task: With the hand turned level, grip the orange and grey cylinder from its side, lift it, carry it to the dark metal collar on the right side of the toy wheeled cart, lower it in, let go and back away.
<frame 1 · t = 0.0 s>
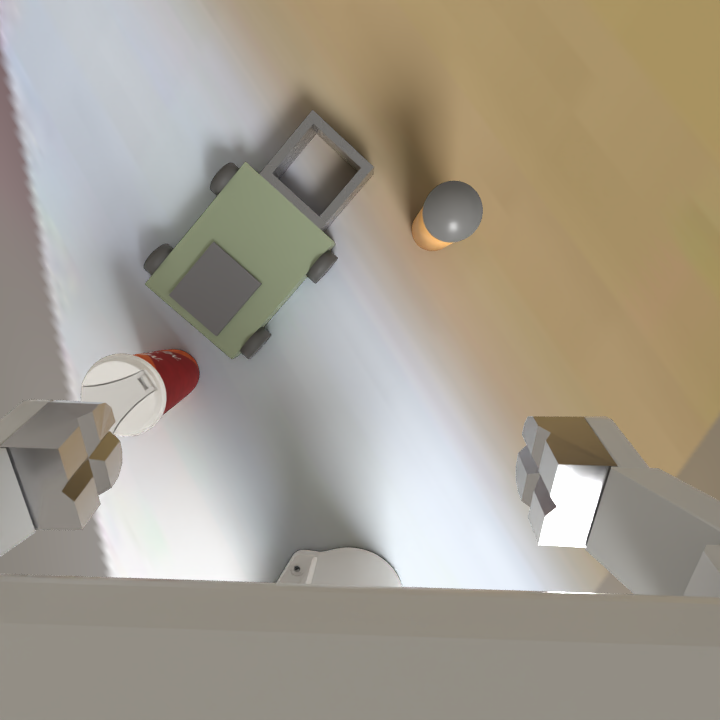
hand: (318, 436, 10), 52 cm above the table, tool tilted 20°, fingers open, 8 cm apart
orange and grey cylinder: (432, 229, 60), on the table
toy wheeled cart: (245, 264, 61), on the table
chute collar: (319, 177, 59), on the table
coffee cup: (175, 372, 63), on the table
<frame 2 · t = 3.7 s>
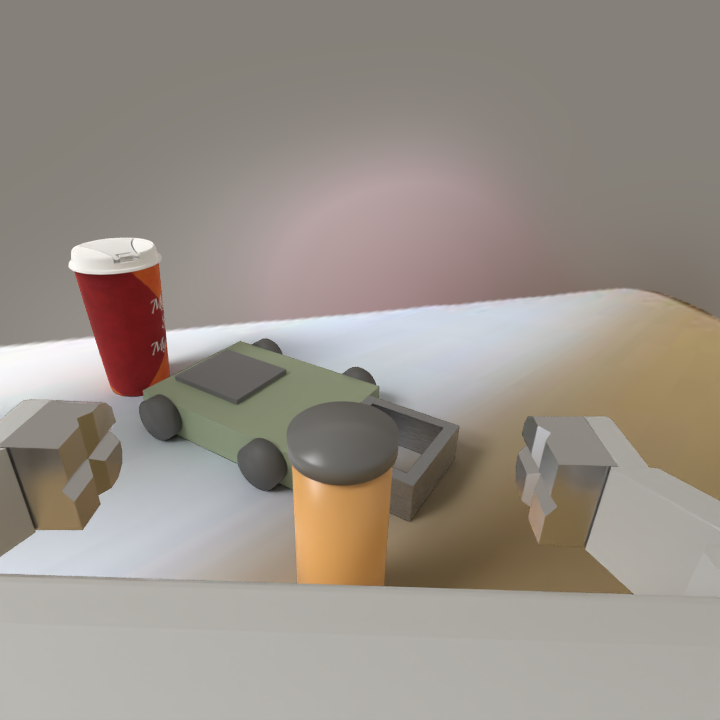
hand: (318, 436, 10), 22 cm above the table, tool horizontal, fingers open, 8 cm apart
orange and grey cylinder: (340, 619, 31), on the table
toy wheeled cart: (265, 419, 50), on the table
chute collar: (386, 468, 44), on the table
coffee cup: (141, 383, 55), on the table
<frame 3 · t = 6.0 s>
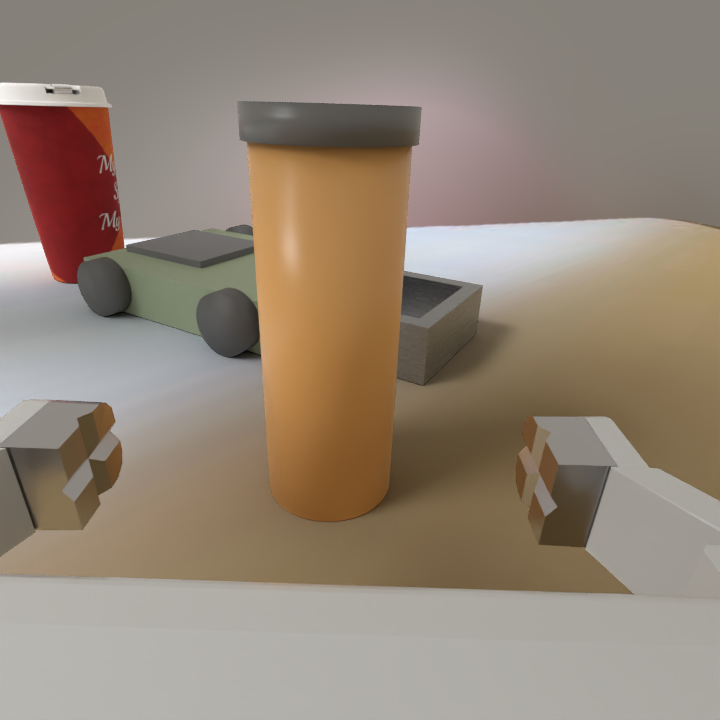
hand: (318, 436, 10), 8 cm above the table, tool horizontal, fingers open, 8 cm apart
orange and grey cylinder: (330, 478, 21), on the table
toy wheeled cart: (239, 301, 40), on the table
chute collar: (389, 340, 34), on the table
coffee cup: (91, 275, 46), on the table
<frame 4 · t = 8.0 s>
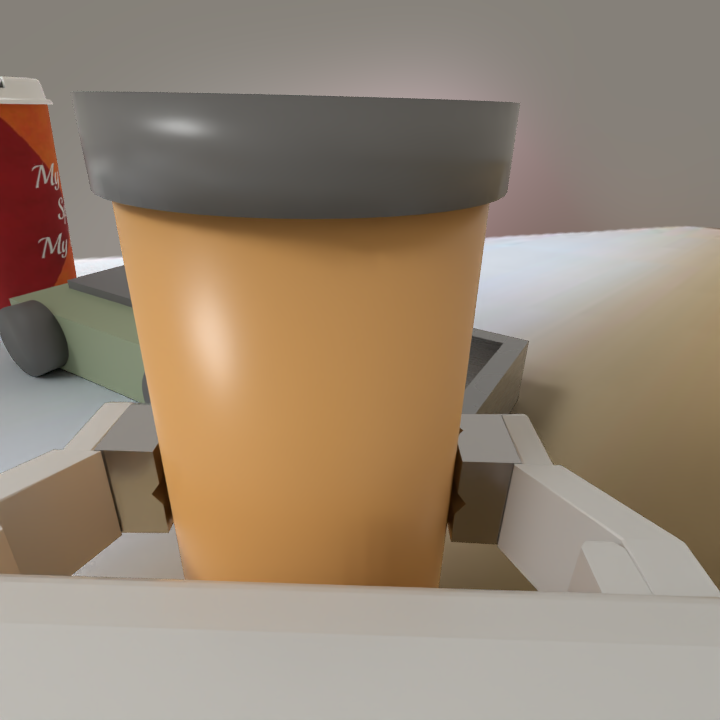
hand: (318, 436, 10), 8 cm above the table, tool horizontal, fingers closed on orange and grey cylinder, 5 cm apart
orange and grey cylinder: (320, 718, 13), on the table, touching gripper
toy wheeled cart: (212, 350, 32), on the table
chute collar: (405, 413, 26), on the table
coffee cup: (35, 310, 37), on the table
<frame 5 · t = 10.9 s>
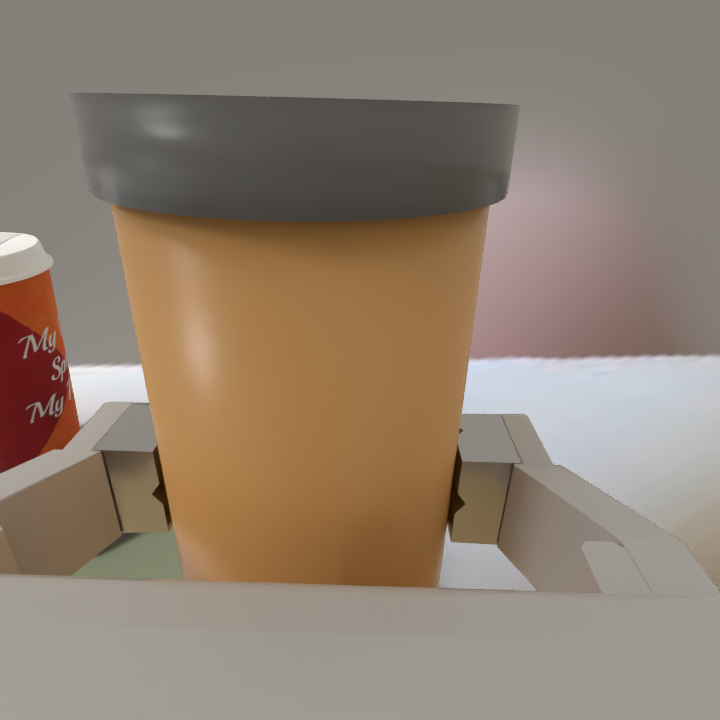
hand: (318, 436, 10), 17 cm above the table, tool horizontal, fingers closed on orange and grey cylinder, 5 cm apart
toy wheeled cart: (174, 565, 28), on the table
coffee cup: (36, 456, 36), on the table
when the fingers open (9 cm above the table, at t = 13.5 s): orange and grey cylinder drops 1 cm, resting in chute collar.
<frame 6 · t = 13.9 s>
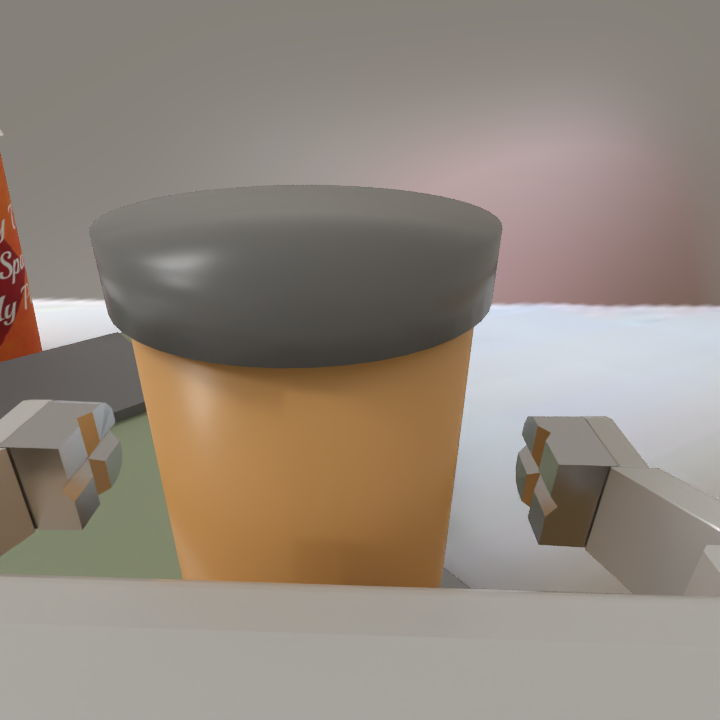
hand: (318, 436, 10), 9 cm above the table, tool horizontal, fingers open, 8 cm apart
toy wheeled cart: (123, 492, 22), on the table
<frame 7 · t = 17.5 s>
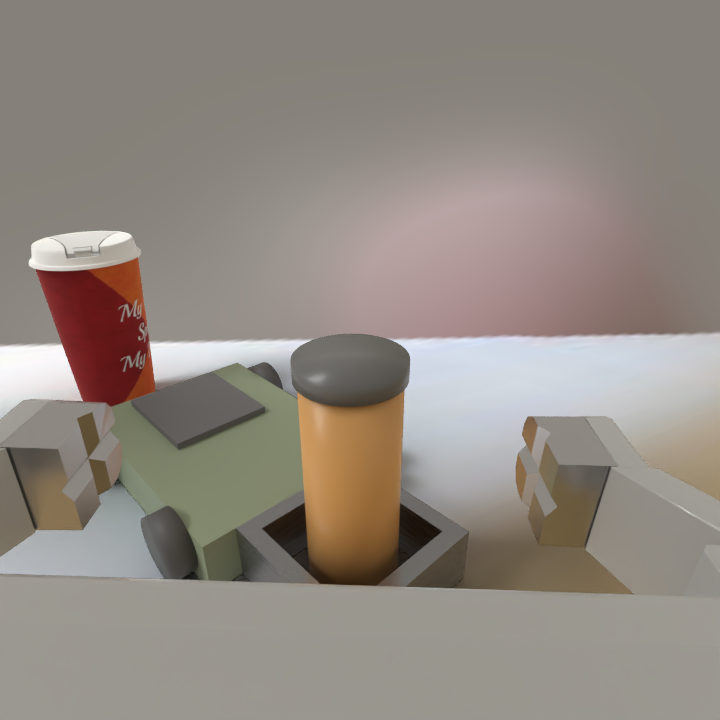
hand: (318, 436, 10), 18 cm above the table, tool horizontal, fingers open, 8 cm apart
orange and grey cylinder: (353, 576, 29), resting in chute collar
toy wheeled cart: (230, 469, 38), on the table
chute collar: (352, 575, 29), on the table
coffee cup: (122, 402, 47), on the table
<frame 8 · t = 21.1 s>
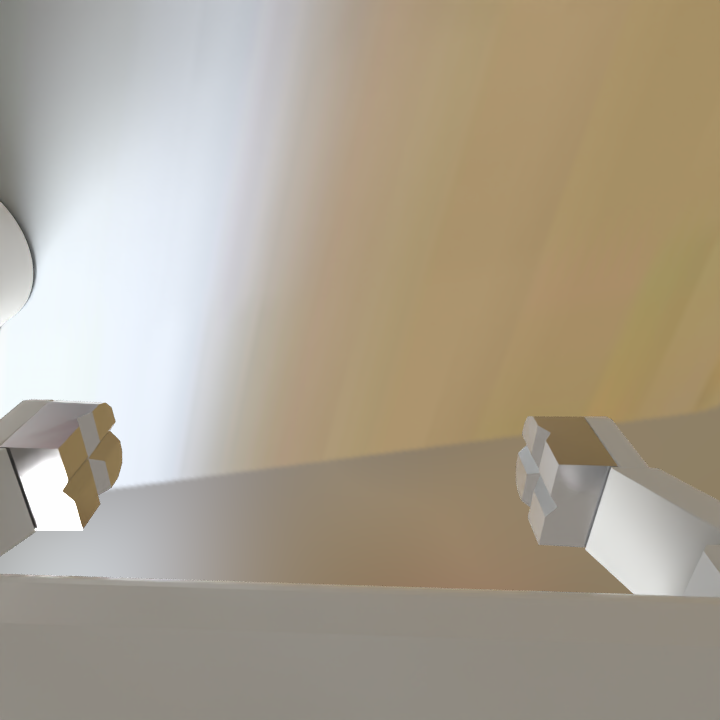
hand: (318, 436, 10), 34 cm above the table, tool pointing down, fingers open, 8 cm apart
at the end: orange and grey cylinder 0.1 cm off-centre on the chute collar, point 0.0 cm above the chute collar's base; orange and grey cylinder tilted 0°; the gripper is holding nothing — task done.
